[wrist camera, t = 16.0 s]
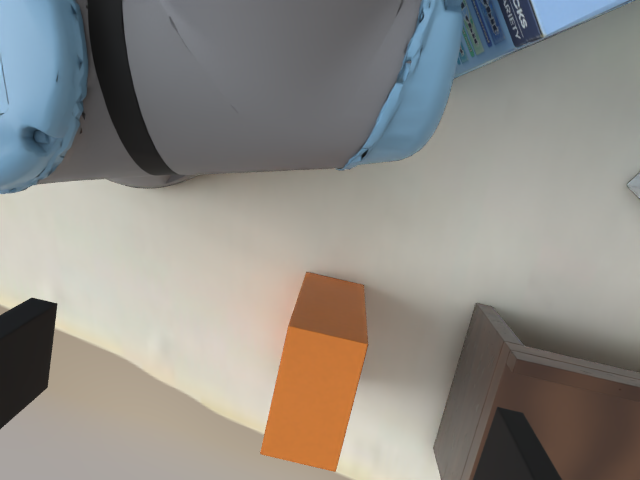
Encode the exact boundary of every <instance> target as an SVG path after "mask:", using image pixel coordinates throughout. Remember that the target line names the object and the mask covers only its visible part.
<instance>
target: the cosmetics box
mask: <svg viewBox="0 0 640 480" xmlns="http://www.w3.org/2000/svg"><path fill="white" fill-rule="evenodd" d="M627 186H628V187H629V189H630V190H632V192H633V193H634V194H636V196H637V197H638V198H639V199H640V173H639V174H638V175H637V176H636V177H635V178H633V179H632V180H631V181H630V182H629V183H628V184H627Z"/></svg>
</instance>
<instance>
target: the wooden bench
mask: <svg viewBox="0 0 640 480" xmlns="http://www.w3.org/2000/svg"><path fill="white" fill-rule="evenodd" d="M497 407H501V408H505V409H509V410H513V411H518V412H522V413H523V414H524V415H525V417H526V419H527V420H528V422H529V424H530V426H531V427H532V429H533V431H534V432H535V434H536V436H537V438H538V439H539V441H540V443H541V444H542V446H543V448H544V449H545V451H546V453H547V455H548V456H549V458H550V460H551V461H552V463H553V465H554V467H555V468H556V470H557V472H558V473H559V475H560V477H561V479H562V480H640V373H639V372H635V371H631V370H626V369H622V368H618V367H613V366H609V365H605V364H600V363H596V362H592V361H587V360H583V359H579V358H574V357H570V356H566V355H561V354H557V353H553V352H548V351H544V350H540V349H535V348H531V347H527V346H524V344H523V343H522V342H521V341H520V340H519V338H518V337H517V336H516V335H515V333H514V332H513V331H512V330H511V328H510V327H509V326H508V325H507V323H506V322H505V321H504V320H503V318H502V317H501V316H500V315H499V313H498V312H497V311H496V310H495V309H494V307H492V306H488V305H483V304H479V303H476V305H475V309H474V312H473V315H472V319H471V322H470V326H469V329H468V332H467V336H466V339H465V342H464V346H463V349H462V353H461V356H460V359H459V363H458V366H457V369H456V373H455V376H454V380H453V383H452V386H451V390H450V393H449V396H448V400H447V403H446V407H445V410H444V413H443V417H442V420H441V423H440V427H439V430H438V434H437V437H436V440H435V444H434V447H433V449H434V453H435V457H436V461H437V465H438V469H439V473H440V477H441V480H473V478H474V475H475V472H476V469H477V466H478V463H479V460H480V457H481V454H482V451H483V448H484V445H485V442H486V439H487V436H488V433H489V430H490V427H491V424H492V421H493V418H494V415H495V412H496V409H497Z"/></svg>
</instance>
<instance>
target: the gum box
mask: <svg viewBox="0 0 640 480" xmlns="http://www.w3.org/2000/svg"><path fill="white" fill-rule="evenodd" d="M633 1H635V0H463V1H462V3H461V10H462V14H463V17H464V21H463V31H462V38H461V44H460V50H459V56H458V60H457V65H456V70H455V74H454V78H456V77H459V76H461V75H463V74H466V73H468V72H470V71H473V70H475V69H477V68H480V67H482V66H484V65H487V64H489V63H491V62H493V61H496V60H498V59H500V58H503V57H505V56H507V55H510V54H512V53H514V52H517V51H519V50H521V49H524V48H526V47H528V46H531V45H533V44H535V43H538V42H540V41H542V40H545V39H547V38H549V37H552V36H554V35H557V34H559V33H561V32H564V31H566V30H568V29H571V28H573V27H575V26H578V25H580V24H582V23H585V22H587V21H589V20H591V19H594V18H596V17H598V16H601V15H603V14H605V13H607V12H610V11H612V10H614V9H617V8H619V7H621V6H624V5H626V4H628V3H631V2H633Z"/></svg>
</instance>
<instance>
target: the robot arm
mask: <svg viewBox="0 0 640 480" xmlns="http://www.w3.org/2000/svg"><path fill="white" fill-rule="evenodd" d="M462 1H463V0H0V194H6V193H15V192H19V191H23V190H25V189H27V188H28V187H30V186H32V185H37V184H45V183H55V182H66V181H78V180H95V179H107V180H110V181H112V182H115V183H118V184H122V185H125V186H130V187H135V188H160V187H166V186H170V185H174V184H178V183H181V182H184V181H187V180H189V179H191V178H193V177H195V176H197V175H199V174H219V173H242V172H264V171H287V170H309V169H331V168H335V169H337V170H345V169H351V168H353V167H355V166H357V165H362V164H371V163H380V162H390V161H398V160H402V159H405V158H407V157H410V156H412V155H413V154H415V153H416V152H418V151H419V150H421V149H422V148H423V147H424V146H425V144H426V143H427V142H428V141H429V139H430V138H431V137H432V135H433V133H434V132H435V130H436V128H437V126H438V124H439V122H440V120H441V117H442V115H443V112H444V110H445V107H446V104H447V101H448V97H449V94H450V90H451V87H452V83H453V79H454V74H455V70H456V65H457V60H458V56H459V50H460V44H461V38H462V31H463V21H464V17H463V14H462V10H461V3H462ZM56 311H57V303H52V302H48V301H44V300H40V299H35V298H30V299H29V300H27V301H25V302H23V303H21V304H20V305H18V306H16V307H14V308H12V309H11V310H9V311H7V312H5V313H3V314H2V315H0V429H1V428H2V427H3V426H4V425H6V424H7V423H8V422H9V421H10V420H11V419H12V418H13V417H14V416H16V415H17V414H18V413H19V412H20V411H21V410H22V409H24V408H25V407H26V406H27V405H28V404H29V403H31V402H32V401H33V400H34V399H35V398H36V397H37V396H38V395H40V394H41V393H42V392H43V391H44V390H45V389H46V388H47V387H48V379H49V370H50V361H51V353H52V345H53V336H54V328H55V319H56ZM473 480H562V479H561V477H560V475H559V473H558V472H557V470H556V468H555V467H554V465H553V463H552V461H551V460H550V458H549V456H548V455H547V453H546V451H545V449H544V448H543V446H542V444H541V443H540V441H539V439H538V438H537V436H536V434H535V432H534V431H533V429H532V427H531V426H530V424H529V422H528V420H527V419H526V417H525V415H524V414H523V413H522V412H518V411H513V410H509V409H505V408H501V407H497V409H496V412H495V415H494V418H493V421H492V424H491V427H490V430H489V433H488V436H487V439H486V442H485V445H484V448H483V451H482V454H481V457H480V460H479V463H478V466H477V469H476V472H475V475H474V478H473Z"/></svg>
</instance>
